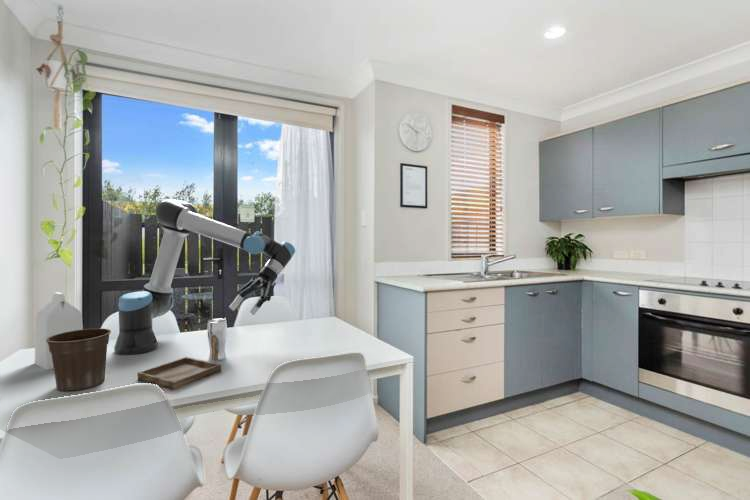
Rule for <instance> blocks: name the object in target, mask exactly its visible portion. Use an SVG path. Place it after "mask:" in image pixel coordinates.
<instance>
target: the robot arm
mask: <svg viewBox="0 0 750 500" xmlns="http://www.w3.org/2000/svg"><path fill="white" fill-rule="evenodd" d="M154 213H155V218H156V220H157V221H158V222H159V224H161V229H162V230H163V235H162V238H161V240H160V241H161V242H160V246H159V249H158V251H157V256H156V259H155V262H154V264H153V265H154V266H153V269H152V273H151V276H150V277H149V278H150V279H149V282H148V283H145V284H144V285H143V289H142V291H133V292H128V293H124V294H123V295H121V296H120V297H119V298H118V304H117V305H118V306H117V307H118V335H117V338H116V341H115V344H114V347H113V348H114V349H113V350H114V351H113V352H114V354H116V355H121V356H131V355H137V354H138V355H139V354H143V353H149V352H151V351H155V350H156V349H157V348H158V340H157V337H156V335H155V332H154V330H153V329H154V328H153V319H155V318H158V317H161V316H163V315H165V314H167V313H168V312H169V311H171V309H172V308H173V305H174V303H175V302H174V297H173V292H174V289H173V288H172V286H171V285H172V282H173V280H174V277H175V272H176V269H177V265H178V262H179V259H180V256H181V251H182V249H183V245H184V242H185V239H186V237H187V236H190V234H191V232H192V233H196V234H198V235H201V236H204V237H206V238H209V239H212V240H215V241H219V242H221V243H224V244H227V245H230V246H233V247H236V248H239V249H241V250H243V251H246V252H247V253H248V254H251V255H258V254H263V255H266V256H267V257H268V258H269V259H268V260H267V262H266V263H265V264H264V266H263V267H262V268H261V270H260V271H259V272H258V277H257V278H255V277H253V276H252V278H251V279H250V280H249V281H248V282H247V283H245V284H244V285H243V286H241V288H239V289H237V291H236V292H235V293H236V294H237V296H236V297H235V298H234V299H233V301H232V302H231V303H230V305H229V306H228V308H229V309H230V310H232V311H233V312H235V310H237V308H238V307H239V305H240V304H241V302H242V301H243V300H244V297H246V296H248V295H249V294H251V293H253V292H254V291H257V290H260V296H259V297H258V298H257V299H256V301H255V302H254V303H253V305H251V307H250V309H249V310H248V312H249V313H250V314H252V315H253V316H255V315H256V314H257V312H259V309H260V308H261V307H262V306H263V304H264V303H266V302H270V301H271V298H272V295H273V291H274V288H275V286H276V285H277V283H276V282H275V281H276V280H277V279H278V277H279V276H280V274H281V272H283V270H284V269H285V268H286V267H287V265H288V263H289V262H290V261H291V259H292V258H293V256H294V255H295V253H296V248H295V246H294V245H293V244H292V243H290V242H288V241H283V242H281V243H280V242H277V241H276V240H274V239H272V238H271V237H269V236H267V234H265V233H263V232H261V231H259V230H258V231H255V232H254V233H253V232H252V233H251V232H249V231H245V230H243V229H240V228H237V227H234V226H232V225H230V224H229V225H228V224H226V223H224V222H221V221H218V220H214V219H211V218H209V217H206V216H204V215H202V214H199V211H198V209H197V207H196V206H194V204H193V203H190V202H187V201H184V200H177V199H174V198H173V199H172V198H171V199H170V198H168V199H164V200H162V201H160V202H159V203H158V204H157V206H156V207H155V210H154Z"/></svg>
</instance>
